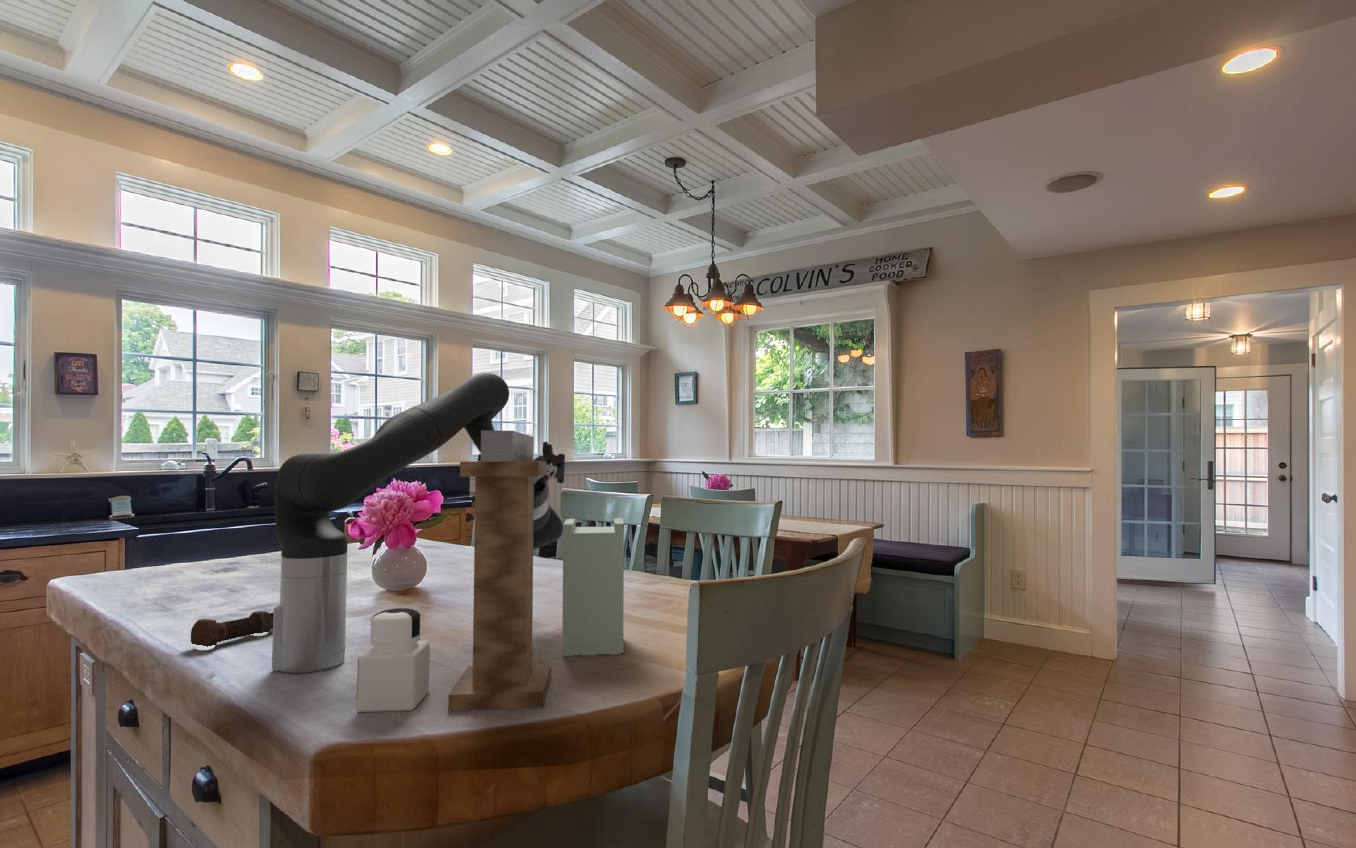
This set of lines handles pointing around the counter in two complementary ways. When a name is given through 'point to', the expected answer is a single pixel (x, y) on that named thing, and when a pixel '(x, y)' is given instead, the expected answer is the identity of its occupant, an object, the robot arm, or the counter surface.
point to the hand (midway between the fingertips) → (518, 446)
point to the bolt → (230, 628)
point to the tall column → (502, 591)
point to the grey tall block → (593, 589)
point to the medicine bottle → (393, 663)
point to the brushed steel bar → (506, 446)
